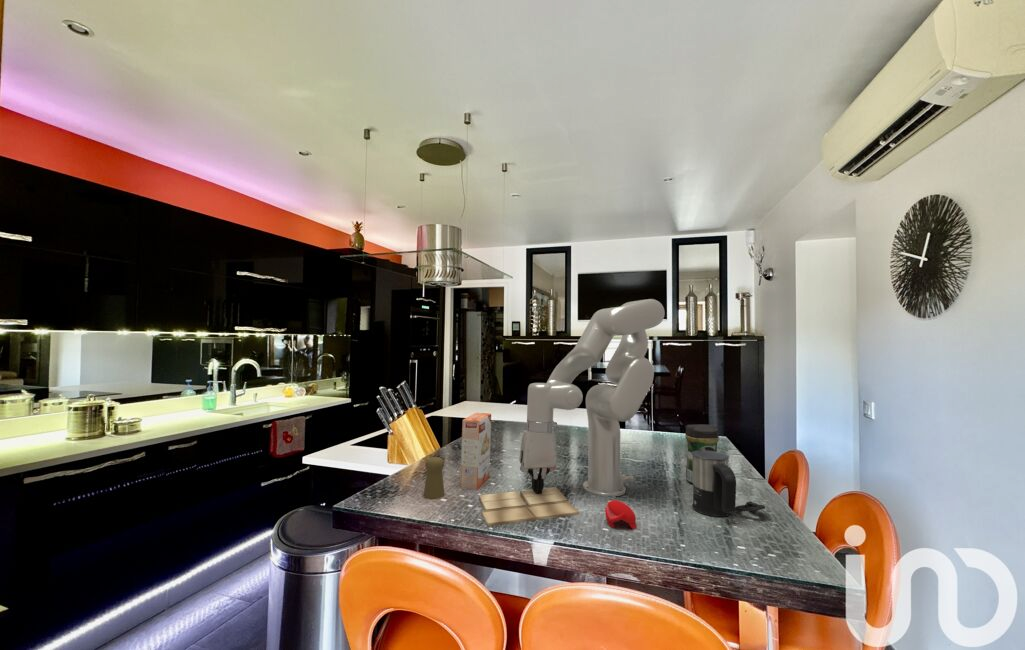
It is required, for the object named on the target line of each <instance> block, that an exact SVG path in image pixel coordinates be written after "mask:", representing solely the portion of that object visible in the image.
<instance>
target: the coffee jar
mask: <svg viewBox="0 0 1025 650" xmlns="http://www.w3.org/2000/svg"><path fill="white" fill-rule="evenodd" d="M684 435H685V439H686V443H687V458H686V466H685V467H686V470H685V479H686V481H687V482H688V483H689V482H690V483H689V484H691V483H692V485H693V457H692V454H691V452H693V451H702V450H703V451H714V452H718V443H719V440H720V436H719V430H718V428H717V426H715V425H712V424H703V423H702V424H700V423H699V424H697V423H696V424H687V425H686V426H685V434H684Z"/></svg>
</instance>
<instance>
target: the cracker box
mask: <svg viewBox="0 0 1025 650" xmlns="http://www.w3.org/2000/svg"><path fill="white" fill-rule="evenodd" d="M461 427H462V428H461V431H462V432H461V457H460V460H461V461H460V464H461V465H460V484H459V486H460V487H459V488H460V489H464V490H474V491H475V490H476V491H478V490H479V489H480V488H481V486H482V485H483V484H484V483H485V482H486V481H487V480H488V479H489V478H490V469H491V468H490V467H491V464H490V463H491V462H490V461H491V460H490V459H491V436H492V413H489V412H488V413H487V412H475V413H473V414H471V415H469V416H467V417H466V418H464V419H462V426H461Z"/></svg>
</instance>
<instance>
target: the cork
mask: <svg viewBox="0 0 1025 650" xmlns="http://www.w3.org/2000/svg"><path fill="white" fill-rule="evenodd" d="M424 464H425V465H424V466H425V469H426V475H425V482H424V489H423V498H424V499H428V500H437V499H441V498H443V497H444V496H445V486H444V485H445V484H444V478H443V477H444V476H443V469H444V466H445V461H444V459H443V458H442V457H439V456H433V457H432V456H431V457H429V458H427V459H426V461H425V463H424Z"/></svg>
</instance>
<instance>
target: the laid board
mask: <svg viewBox="0 0 1025 650" xmlns="http://www.w3.org/2000/svg"><path fill="white" fill-rule="evenodd" d="M480 515H481V516H482V518H483V519H484V521H485V523H486V525H487V526H488V527H491V526H492V527H493V526H501V525H508V524H516V523H523V522H531V521H537V520H538V521H539V520H546V519H548V520H549V519H553V518H562V517H569V516H570V517H571V516H577V515H580V511H579V510H578V509H577V508H575V506H574V505H572V504H571V503H570V502H569V500H568V501H564V502H556V503H547V504H539V505H530V506H529V505H526V506H521V507H513V508H504V509H495V510H487V511H485V510H481V511H480Z"/></svg>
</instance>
